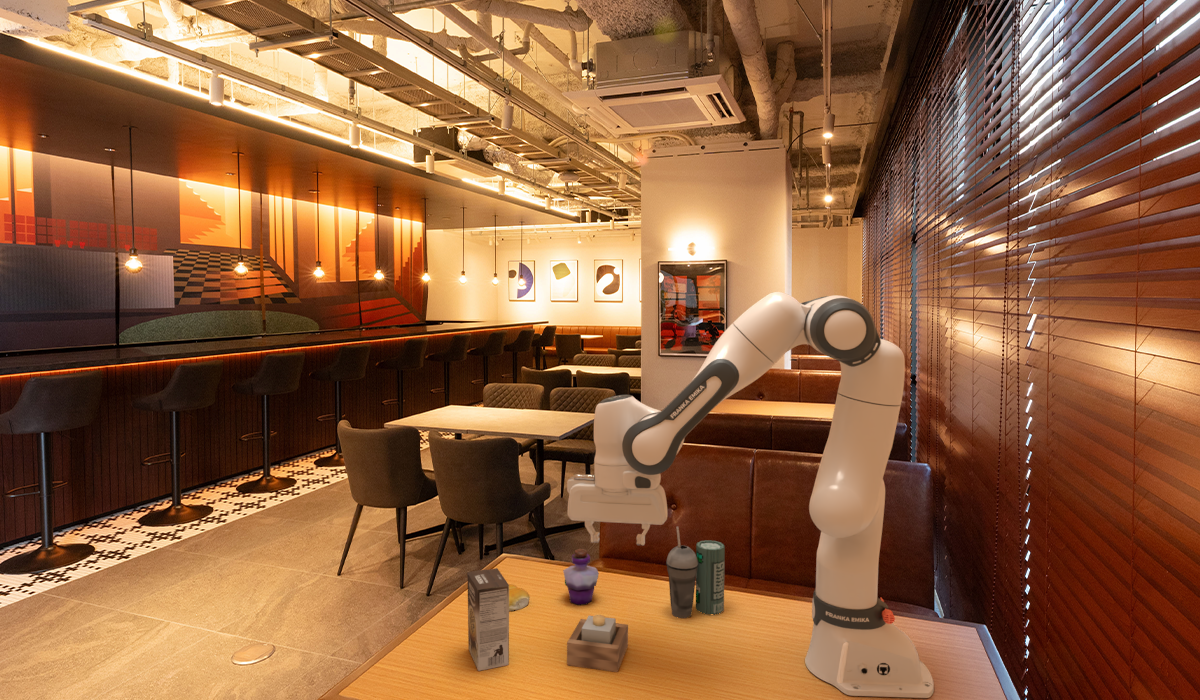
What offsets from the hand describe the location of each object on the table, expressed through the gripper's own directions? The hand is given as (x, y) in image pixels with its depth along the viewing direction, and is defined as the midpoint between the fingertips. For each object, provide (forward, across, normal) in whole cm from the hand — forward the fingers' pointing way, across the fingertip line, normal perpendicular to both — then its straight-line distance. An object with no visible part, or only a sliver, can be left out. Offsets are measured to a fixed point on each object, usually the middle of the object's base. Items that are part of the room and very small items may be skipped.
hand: (617, 543), depth 133 cm
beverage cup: (+22, +11, +18) cm, 30 cm away
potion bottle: (+21, -13, +19) cm, 31 cm away
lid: (+20, -3, -4) cm, 20 cm away
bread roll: (+21, -29, +14) cm, 38 cm away
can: (+22, +17, +22) cm, 35 cm away
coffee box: (+21, -25, -10) cm, 34 cm away
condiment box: (+22, -4, -4) cm, 22 cm away
